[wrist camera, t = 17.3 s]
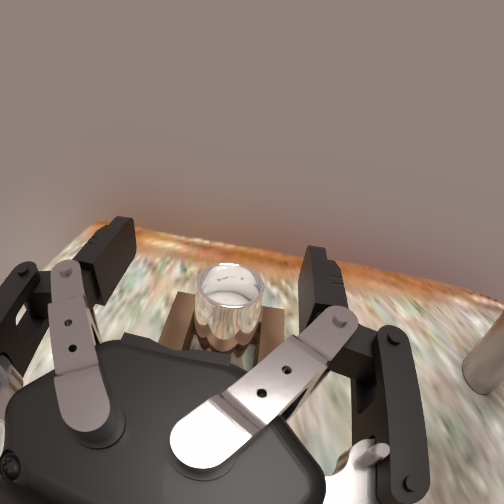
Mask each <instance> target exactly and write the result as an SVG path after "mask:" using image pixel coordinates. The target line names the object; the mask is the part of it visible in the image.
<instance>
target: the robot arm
mask: <svg viewBox="0 0 504 504" xmlns="http://www.w3.org/2000/svg"><path fill="white" fill-rule="evenodd" d="M135 254H136V238H135V228H134V221H133V219H132V218H128V217H121V216H117V217H116V218H114V220H113V221H112V222H111V223H110V224H109V225H105V226H104V227H102V228H100V229H99V230H97V231H96V232H95V234H94V235H93V236H92V238H90V239H89V240H88V242H87V243H86V244H85V245H84V246H83V247H82V249H81V250H80V251H79V252H78V253H77V255H76V256H75V257H74V258H73V259H72V260H64V261H61V262H59V263H57V264H56V265H55V266H54V267H53V268H52V270H51V271H38V269H37V266H36V264H35V263H34V262H30V261H28V262H23V263H21V264H19V265H17V266H16V267H15V268H14V269H13V270H12V272H11V273H10V274H9V276H8V277H7V278H6V279H5V281H4V282H3V283H2V285H1V286H0V423H2V424H4V425H5V440H4V448H3V452H2V455H1V457H0V504H413V503H416V502H418V501H420V500H421V499H422V498H423V497H424V496H425V495H426V493H427V491H428V489H429V486H430V471H429V458H428V447H427V438H426V429H425V422H424V415H423V408H422V402H421V396H420V390H419V385H418V379H417V374H416V369H415V365H414V360H413V355H412V351H411V347H410V342H409V339H408V337H407V335H406V334H405V333H404V332H403V331H402V330H401V329H400V328H398V327H395V326H392V325H385V326H383V327H381V328H380V329H379V331H378V332H377V331H375V330H372V329H369V328H367V327H364V326H362V325H360V324H359V323H358V319H357V317H356V315H355V314H354V313H353V312H352V311H351V310H349V308H348V303H347V298H346V293H345V288H344V286H343V285H344V283H343V279H342V274H341V269H340V268H339V266H338V265H337V264H336V262H335V261H332V260H327V256H326V251H325V248H322V247H316V246H310V245H308V247H307V250H306V253H305V256H304V260H303V264H302V267H301V271H300V274H299V280H298V298H299V335H298V336H297V337H296V336H295V335H291V336H290V337H288V338H287V339H286V340H285V341H284V342H283V343H282V344H280V345H279V346H278V347H277V348H276V349H275V350H274V351H272V352H271V353H270V354H269V355H268V356H267V357H266V358H264V359H263V360H262V361H261V362H260V363H259V364H257V365H256V366H255V367H254V368H253V369H251V370H250V371H249V372H247V371H245V370H244V369H242V368H241V367H239V366H237V365H235V364H232V363H231V356H232V355H229V354H223V353H218V352H212V351H206V350H172V349H170V348H167V347H165V346H163V345H161V344H159V343H157V342H155V341H153V340H151V339H149V338H145V337H141V336H137V335H133V334H129V333H125V332H124V334H123V336H122V338H121V340H111V341H106V342H103V343H102V339H101V336H100V332H99V328H98V324H97V320H96V316H95V312H94V309H93V307H94V306H95V304H99V305H103V306H105V305H106V303H107V301H108V300H109V298H110V296H111V295H112V293H113V291H114V290H115V288H116V286H117V285H118V283H119V281H120V280H121V278H122V276H123V275H124V273H125V272H126V270H127V268H128V267H129V265H130V264H131V262H132V261H133V259H134V257H135ZM23 304H24V306H25V308H26V312H25V313H24V315H23V316H22V318H21V320H20V321H19V323H18V325H17V326H16V316H17V314H18V312H19V310H20V309H21V307H22V306H23ZM48 327H50V337H51V346H52V353H53V360H54V367H55V369H54V370H52V371H50V372H49V373H47V374H45V375H43V376H42V377H40V378H38V379H36V380H35V381H33V382H31V383H29V384H28V385H26V386H24V387H23V377H24V374H25V372H26V370H27V368H28V366H29V364H30V362H31V360H32V358H33V356H34V354H35V352H36V350H37V348H38V346H39V344H40V342H41V340H42V338H43V337H44V335H45V333H46V331H47V329H48ZM331 371H333V372H336V373H338V374H341V375H344V376H346V377H349V378H351V404H352V447H351V448H349V449H348V450H347V451H345V452H344V453H343V454H341V456H340V457H339V459H338V461H337V464H336V468H335V471H334V473H333V474H332V475H331V476H330V477H325V475H324V473H323V471H322V469H321V467H320V466H319V464H318V463H317V462H316V460H315V459H314V458H313V457H312V455H311V454H310V453H309V451H308V450H307V449H306V448H305V446H304V445H303V444H302V442H301V441H300V440H299V438H298V437H297V436H296V434H295V433H294V432H293V430H292V429H291V428H290V426H289V425H288V424H287V421H288V420H289V419H290V418H291V417H292V416H293V415H294V414H295V413H296V412H297V411H298V409H299V408H300V407H301V406H302V404H303V403H304V402H305V401H306V400H307V398H308V397H309V396H310V395H311V394H312V393H313V392H314V390H315V389H316V388H317V387H318V386H319V385H320V384H321V382H322V381H323V380H324V379H325V378H326V377H327V375H328V374H329V373H330V372H331ZM463 374H464V376H465V379H466V381H467V383H468V384H469V385H470V387H471V388H472V389H473V390H475V391H476V392H478V393H480V394H489V393H491V392H492V391H493V390H494V389H495V388H496V387H497V386H498V385H499V384H500V383H502V382H503V381H504V311H503V312H502V314H501V315H500V317H499V318H498V319H497V320H496V322H495V323H494V324H493V326H492V327H491V328H490V329H489V331H488V332H487V333H486V334H485V336H484V337H483V338H482V339H481V341H480V342H479V343H478V344H477V345H476V347H475V348H474V349H473V350H472V351H471V353H470V354H469V355H468V356H467V357H466V358H465V360H464V362H463Z"/></svg>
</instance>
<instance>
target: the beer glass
mask: <svg viewBox="0 0 504 504" xmlns="http://www.w3.org/2000/svg"><path fill="white" fill-rule="evenodd" d="M263 292H264V283H263V281H262V279H261V277H260V276H259V275H258V274H257V273H256V272H255V271H254V270H252V269H250V268H249V267H246V266H244V265H241V264H237V263H229V262H224V263H217V264H213V265H210V266H208V267H206V268H205V269H204V270H202V271H201V273H200V274H199V276H198V278H197V287H196V294H195V302H194V322H195V328H196V333H197V337H198V340H199V344H200V348H201V350H206V351H212V352H218V353H223V354H229V355H232V356H231V363H232V364H235V365H237V366H239V367H241V368H242V369H243V368H244V365H243V355H244V353H245V351H246V349H247V347H248V346H249V344H250V342H251V340H252V338H253V336H254V334H255V332H256V329H257V326H258V322H259V318H260V313H261V307H262V298H263Z"/></svg>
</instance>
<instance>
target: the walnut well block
mask: <svg viewBox="0 0 504 504" xmlns="http://www.w3.org/2000/svg"><path fill="white" fill-rule="evenodd" d="M194 302H195V295H194V294H189V293H183V292H178V293H177V295H176V298H175V300H174V303H173V305H172V308H171V310H170V313H169V315H168V318H167V320H166V323H165V326H164V328H163V331H162V334H161V336H160V339H159V342H158V343H159V344H161V345H163V346H165V347H167V348H170V349H172V350H189V349H190V346H191V342H192V339H193V335H194V334H196V335H197V333H196V328H195V322H194ZM283 342H284V309H278V308H271V307H265V306H262V307H261V313H260V318H259V322H258V326H257V329H256V332H255V334H254V336H253V338H252V340H251V342H250V344H254V345H256V350H255V360H254V367H255V366H256V365H257V364H259V363H260V362H261V361H262V360H263V359H264V358H266V357H267V356H268V355H269V354H270V353H271V352H272V351H274V350H275V349H276V348H277V347H278V346H279V345H280V344H282V343H283Z"/></svg>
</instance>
